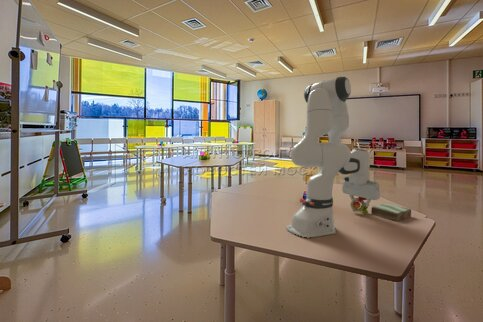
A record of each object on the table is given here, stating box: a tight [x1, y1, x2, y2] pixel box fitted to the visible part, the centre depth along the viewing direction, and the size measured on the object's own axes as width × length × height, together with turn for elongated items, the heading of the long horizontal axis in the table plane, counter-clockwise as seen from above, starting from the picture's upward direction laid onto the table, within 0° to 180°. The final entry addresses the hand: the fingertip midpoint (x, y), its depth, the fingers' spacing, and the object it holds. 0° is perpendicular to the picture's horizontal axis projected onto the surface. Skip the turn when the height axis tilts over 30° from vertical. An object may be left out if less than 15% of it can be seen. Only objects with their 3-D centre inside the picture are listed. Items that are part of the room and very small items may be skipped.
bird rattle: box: [349, 197, 369, 215], centre depth 134 cm, size 6×11×9 cm
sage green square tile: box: [370, 202, 412, 222], centre depth 131 cm, size 13×13×4 cm
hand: (360, 204), depth 135 cm, fingers open, 6 cm apart
